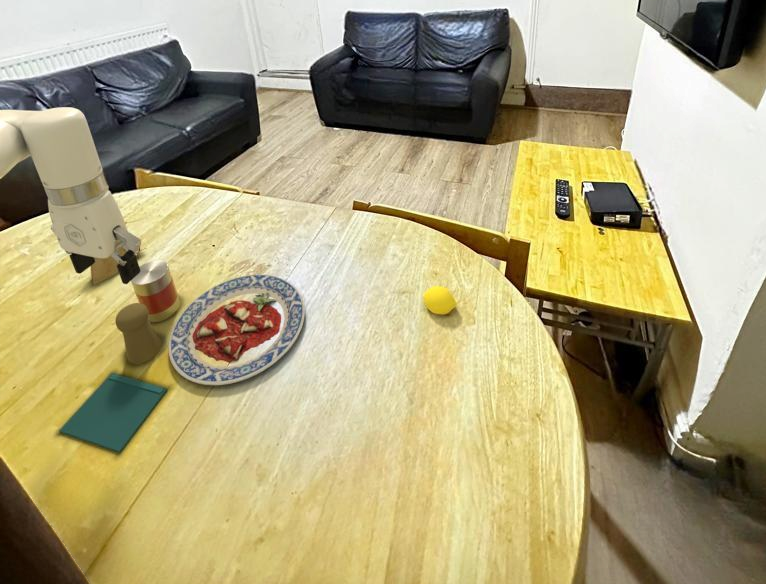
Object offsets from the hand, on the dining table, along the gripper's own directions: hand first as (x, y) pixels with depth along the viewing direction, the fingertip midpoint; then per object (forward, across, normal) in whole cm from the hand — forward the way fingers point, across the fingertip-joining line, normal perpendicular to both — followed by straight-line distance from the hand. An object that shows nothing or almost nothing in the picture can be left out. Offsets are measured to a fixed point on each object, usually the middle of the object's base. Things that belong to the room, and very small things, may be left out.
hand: (108, 272), depth 70 cm
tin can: (+20, -3, +10) cm, 23 cm away
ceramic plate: (+20, +16, +10) cm, 27 cm away
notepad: (+20, +5, -10) cm, 23 cm away
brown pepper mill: (+20, +1, +1) cm, 20 cm away
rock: (+21, -23, +18) cm, 36 cm away
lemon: (+19, +54, +24) cm, 62 cm away
